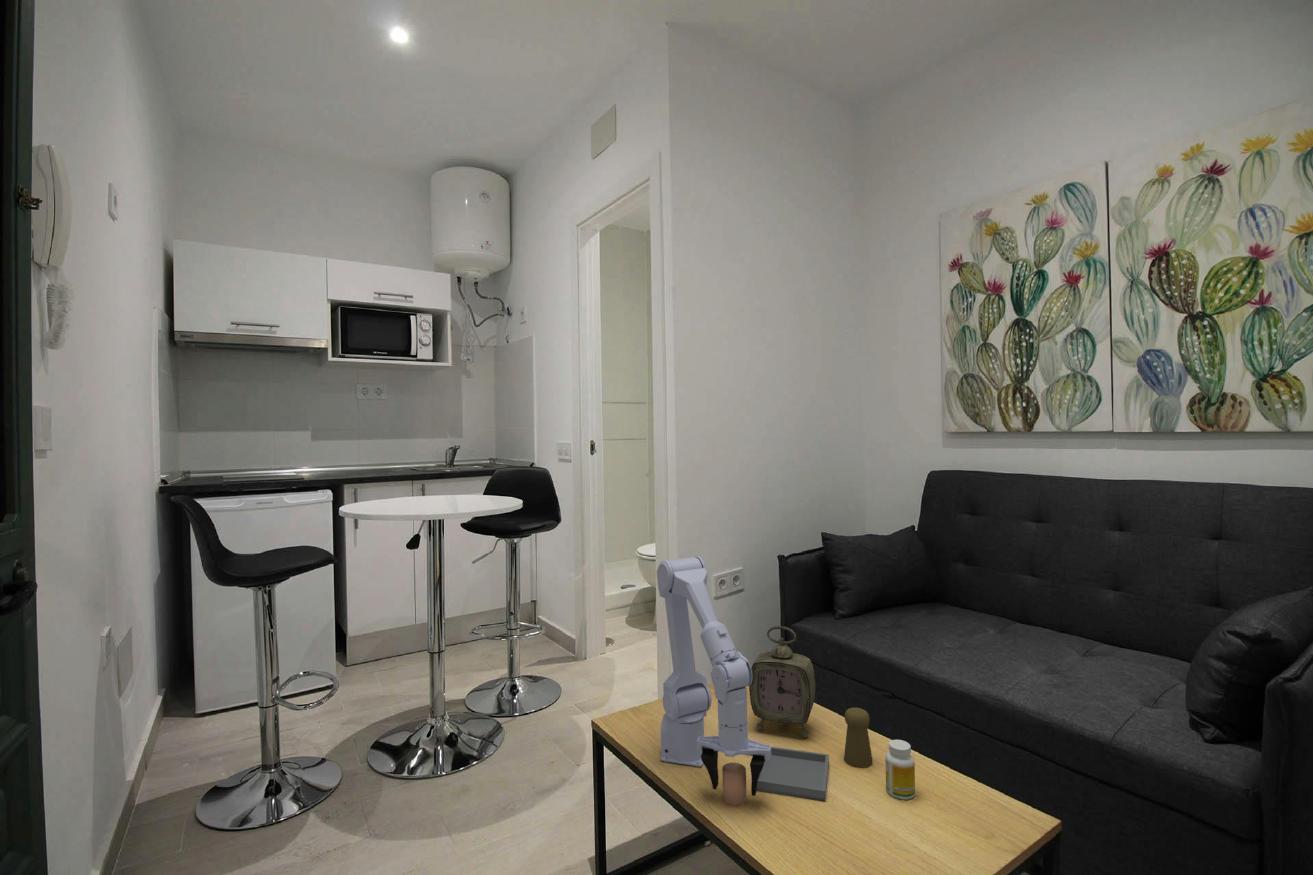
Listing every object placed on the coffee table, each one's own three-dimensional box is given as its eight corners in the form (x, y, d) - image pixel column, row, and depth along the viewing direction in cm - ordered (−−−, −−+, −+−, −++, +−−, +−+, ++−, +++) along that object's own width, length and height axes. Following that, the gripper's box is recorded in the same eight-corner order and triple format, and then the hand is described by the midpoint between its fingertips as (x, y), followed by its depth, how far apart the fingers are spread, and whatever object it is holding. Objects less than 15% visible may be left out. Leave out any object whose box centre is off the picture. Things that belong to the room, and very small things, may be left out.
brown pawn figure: (874, 769, 129) (873, 717, 129) (845, 766, 130) (843, 715, 130) (870, 754, 135) (869, 704, 135) (842, 752, 136) (841, 703, 136)
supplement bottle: (880, 789, 122) (879, 741, 122) (899, 781, 124) (898, 734, 124) (901, 803, 117) (900, 753, 117) (921, 795, 119) (920, 746, 119)
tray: (753, 789, 123) (753, 779, 123) (763, 754, 136) (763, 745, 136) (825, 801, 118) (825, 791, 118) (828, 763, 132) (828, 754, 131)
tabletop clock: (750, 732, 146) (747, 628, 146) (758, 716, 154) (756, 617, 154) (811, 743, 140) (809, 634, 140) (817, 725, 149) (814, 623, 149)
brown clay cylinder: (720, 804, 118) (720, 773, 118) (725, 790, 123) (724, 760, 123) (744, 808, 117) (743, 776, 117) (748, 794, 121) (747, 764, 121)
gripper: (691, 725, 118) (693, 795, 118) (766, 735, 114) (768, 807, 114) (700, 709, 125) (702, 775, 125) (772, 718, 120) (774, 786, 120)
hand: (734, 789), depth 120 cm, fingers open, 7 cm apart
